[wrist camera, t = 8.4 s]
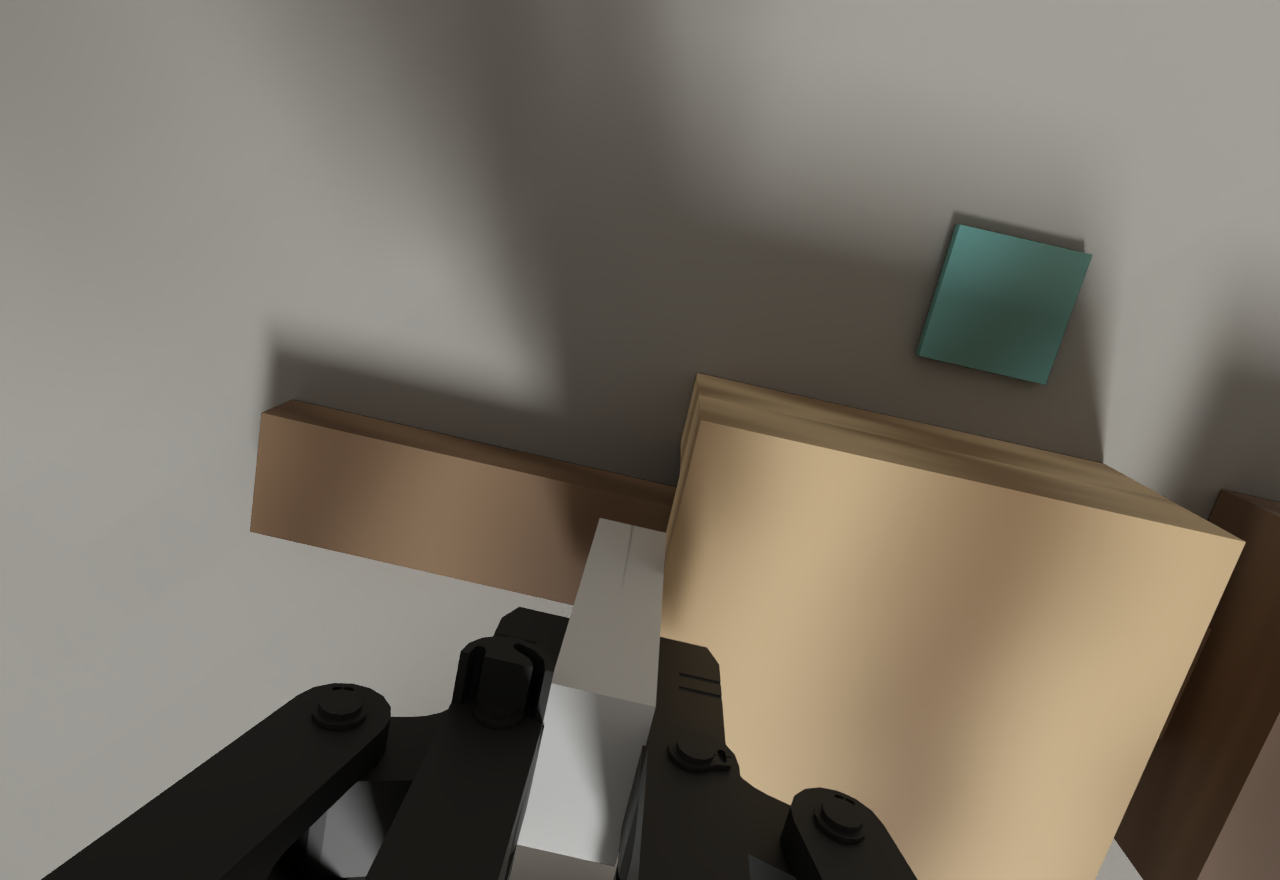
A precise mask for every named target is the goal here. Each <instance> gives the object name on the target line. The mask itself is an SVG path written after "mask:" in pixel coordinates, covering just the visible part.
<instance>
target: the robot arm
mask: <svg viewBox="0 0 1280 880" xmlns="http://www.w3.org/2000/svg"><path fill="white" fill-rule="evenodd" d="M665 545H666V533H664V532H660V531H656V530H651V529H647V528H642V527H638V526H634V525H629V524H625V523H620V522H616V521H612V520H607V519H603V518H600V519H599V522H598V526H597V529H596V532H595V536H594V539H593V542H592V546H591V549H590V552H589V556H588V559H587V562H586V566H585V569H584V572H583V576H582V579H581V582H580V586H579V589H578V593H577V596H576V599H575V603H574V606H573V609H572V613H571V616H570V618H566V617H562V616H557V615H553V614H548V613H544V612H540V611H535V610H531V609H526V608H522V607H518V608H517V609H515V610H514V611H512V612H510V613H509V614H507V615H505V616H504V617H502V619H501V621H500V623H499V625H498V627H497V629H496V631H495V634H494V636H493V637H485V638H481V639H478V640H475V641H473V642H470V643H469V644H468V645H467V646H466V647H465V648H464V649H463V650H462V651H461V653H460V659H459V664H458V670H457V675H456V681H455V687H454V692H453V698H452V703H451V705H450V707H449V709H448V710H446V711H443V712H441V713H437V714H433V715H429V716H419V717H391V707H390V705H389V704H388V702H387V701H386V700H385V698H384V697H383V696H382V695H380V694H379V693H377V692H375V691H374V690H372V689H370V688H367V687H363V686H359V685H355V684H346V683H345V684H343V683H332V684H327V685H322V686H317V687H313V688H311V689H309V690H307V691H305V692H303V693H301V694H299V695H297V696H296V697H295V698H293V699H292V700H290V701H289V702H288V703H286V704H285V705H283V706H282V707H281V708H279V709H278V710H276V711H275V712H274V713H272V714H271V715H270V716H268V717H267V718H265V719H264V720H263V721H261V722H260V723H258V724H257V725H256V726H254V727H253V728H251V729H250V730H249V731H247V732H246V733H244V734H243V735H242V736H240V737H239V738H238V739H236V740H235V741H233V742H232V743H231V744H229V745H228V746H226V747H225V748H224V749H222V750H221V751H219V752H218V753H217V754H215V755H214V756H212V757H211V758H210V759H208V760H207V761H206V762H204V763H203V764H201V765H200V766H199V767H197V768H196V769H194V770H193V771H192V772H190V773H189V774H187V775H186V776H185V777H183V778H182V779H180V780H179V781H178V782H176V783H175V784H173V785H172V786H171V787H169V788H168V789H167V790H165V791H164V792H162V793H161V794H160V795H158V796H157V797H155V798H154V799H153V800H151V801H150V802H148V803H147V804H146V805H144V806H143V807H141V808H140V809H139V810H137V811H136V812H135V813H133V814H132V815H130V816H129V817H128V818H126V819H125V820H123V821H122V822H121V823H119V824H118V825H116V826H115V827H114V828H112V829H111V830H109V831H108V832H107V833H105V834H104V835H103V836H101V837H100V838H98V839H97V840H96V841H94V842H93V843H91V844H90V845H89V846H87V847H86V848H84V849H83V850H82V851H80V852H79V853H77V854H76V855H75V856H73V857H72V858H70V859H69V860H68V861H66V862H65V863H64V864H62V865H61V866H59V867H58V868H57V869H55V870H54V871H52V872H51V873H50V874H48V875H47V876H45V877H44V878H43V879H41V880H509V877H510V873H511V869H512V864H513V859H514V855H515V850H516V845H522V846H526V847H531V848H535V849H539V850H544V851H548V852H553V853H557V854H562V855H566V856H570V857H575V858H579V859H584V860H588V861H592V862H597V863H601V864H606V865H610V866H615V863H616V859H617V856H618V852H619V856H618V865H617V869H616V873H615V877H614V880H918V879H917V878H916V876H915V874H914V873H913V871H912V870H911V868H910V866H909V865H908V863H907V861H906V860H905V858H904V857H903V855H902V853H901V852H900V850H899V849H898V847H897V845H896V844H895V842H894V840H893V839H892V837H891V836H890V834H889V832H888V831H887V829H886V828H885V826H884V824H883V823H882V822H881V821H880V820H879V818H878V817H877V816H876V815H875V814H874V813H873V811H872V810H870V809H869V808H868V807H866V806H865V805H863V804H862V803H861V802H859V801H858V800H857V799H855V798H853V797H851V796H849V795H846V794H844V793H842V792H839V791H836V790H831V789H826V788H821V787H818V788H808V789H804V790H802V791H801V792H799V793H797V794H796V795H794V798H793V801H792V803H791V805H789V804H786V803H784V802H782V801H780V800H778V799H776V798H774V797H771V796H769V795H767V794H765V793H764V792H762V791H760V790H758V789H756V788H755V787H753V786H752V785H751V784H749V783H748V782H747V781H745V780H744V779H743V778H742V777H741V776H740V768H739V764H738V762H737V759H736V756H735V754H734V753H733V752H732V751H731V750H730V749H729V748H728V747H727V745H726V742H725V729H724V717H723V704H722V699H721V697H722V692H721V685H720V683H721V679H720V667H719V664H718V662H717V661H716V659H715V658H714V657H713V655H712V654H711V652H710V651H709V649H708V648H707V647H703V646H699V645H694V644H690V643H686V642H681V641H677V640H672V639H668V638H663V637H660V628H661V612H662V595H663V579H664V560H665Z"/></svg>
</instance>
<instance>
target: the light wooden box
mask: <svg viewBox="0 0 1280 880" xmlns="http://www.w3.org/2000/svg"><path fill="white" fill-rule="evenodd" d="M1245 543H1246V542H1245V541H1243V540H1241V539H1240V538H1238V537H1236V536H1234V535H1232V534H1231V533H1229V532H1227V531H1225V530H1223V529H1221V528H1220V527H1218V526H1216V525H1214V524H1212V523H1211V522H1209V521H1207V520H1205V519H1203V518H1202V517H1200V516H1198V515H1196V514H1194V513H1192V512H1191V511H1189V510H1187V509H1185V508H1183V507H1182V506H1180V505H1178V504H1176V503H1174V502H1173V501H1171V500H1169V499H1167V498H1165V497H1163V496H1162V495H1160V494H1158V493H1156V492H1154V491H1153V490H1151V489H1149V488H1147V487H1145V486H1144V485H1142V484H1140V483H1138V482H1136V481H1134V480H1133V479H1131V478H1129V477H1127V476H1125V475H1124V474H1122V473H1120V472H1118V471H1116V470H1115V469H1113V468H1111V467H1109V466H1107V465H1105V464H1103V463H1098V462H1094V461H1089V460H1085V459H1080V458H1076V457H1071V456H1067V455H1063V454H1058V453H1054V452H1049V451H1045V450H1040V449H1036V448H1031V447H1027V446H1022V445H1018V444H1013V443H1009V442H1004V441H1000V440H995V439H991V438H986V437H982V436H978V435H973V434H969V433H964V432H960V431H955V430H951V429H946V428H942V427H937V426H933V425H928V424H924V423H919V422H915V421H910V420H906V419H901V418H897V417H892V416H888V415H884V414H879V413H875V412H870V411H866V410H861V409H857V408H852V407H848V406H843V405H839V404H834V403H830V402H825V401H821V400H816V399H812V398H807V397H803V396H799V395H794V394H790V393H785V392H781V391H776V390H772V389H767V388H763V387H758V386H754V385H749V384H745V383H740V382H736V381H731V380H727V379H722V378H718V377H714V376H709V375H705V374H700V373H697V376H696V380H695V384H694V388H693V393H692V397H691V401H690V405H689V410H688V414H687V418H686V422H685V426H684V431H683V435H682V439H681V456H680V476H679V480H678V484H677V489H676V493H675V497H674V501H673V505H672V509H671V514H670V518H669V522H668V526H667V530H666V545H665V560H664V579H663V595H662V612H661V628H660V637H663V638H668V639H672V640H677V641H681V642H686V643H690V644H694V645H699V646H703V647H707V648H708V649H709V651H710V652H711V654H712V655H713V657H714V658H715V659H716V661H717V662H718V664H719V667H720V679H721V683H720V685H721V692H722V697H721V699H722V704H723V717H724V729H725V742H726V745H727V747H728V748H729V749H730V750H731V751H732V752H733V753H734V754H735V756H736V759H737V762H738V764H739V768H740V776H741V777H742V778H743V779H744V780H745V781H747V782H748V783H749V784H751V785H752V786H753V787H755V788H756V789H758V790H760V791H762V792H764V793H765V794H767V795H769V796H771V797H774V798H776V799H778V800H780V801H782V802H784V803H786V804H789V805H791V803H792V801H793V798H794V795H796V794H797V793H799V792H801V791H802V790H804V789H808V788H818V787H821V788H826V789H831V790H836V791H839V792H842V793H844V794H846V795H849V796H851V797H853V798H855V799H857V800H858V801H859V802H861V803H862V804H863V805H865V806H866V807H868V808H869V809H870V810H872V811H873V813H874V814H875V815H876V816H877V817H878V818H879V820H880V821H881V822H882V823H883V824H884V826H885V828H886V829H887V831H888V832H889V834H890V836H891V837H892V839H893V840H894V842H895V844H896V845H897V847H898V849H899V850H900V852H901V853H902V855H903V857H904V858H905V860H906V861H907V863H908V865H909V866H910V868H911V870H912V871H913V873H914V874H915V876H916V878H917V879H918V880H1095V879H1096V876H1097V874H1098V872H1099V870H1100V867H1101V865H1102V863H1103V861H1104V859H1105V856H1106V854H1107V852H1108V850H1109V847H1110V845H1111V843H1112V841H1113V838H1114V836H1115V834H1116V832H1117V829H1118V827H1119V825H1120V823H1121V820H1122V818H1123V816H1124V814H1125V812H1126V809H1127V807H1128V805H1129V803H1130V800H1131V798H1132V796H1133V794H1134V791H1135V789H1136V787H1137V785H1138V782H1139V780H1140V778H1141V776H1142V773H1143V771H1144V769H1145V767H1146V765H1147V762H1148V760H1149V758H1150V756H1151V753H1152V751H1153V749H1154V747H1155V744H1156V742H1157V740H1158V738H1159V735H1160V733H1161V731H1162V729H1163V726H1164V724H1165V722H1166V720H1167V717H1168V715H1169V713H1170V711H1171V709H1172V706H1173V704H1174V702H1175V700H1176V697H1177V695H1178V693H1179V691H1180V688H1181V686H1182V684H1183V682H1184V679H1185V677H1186V675H1187V673H1188V670H1189V668H1190V666H1191V664H1192V662H1193V659H1194V657H1195V655H1196V653H1197V650H1198V648H1199V646H1200V644H1201V641H1202V639H1203V637H1204V635H1205V632H1206V630H1207V628H1208V626H1209V623H1210V621H1211V619H1212V617H1213V615H1214V612H1215V610H1216V608H1217V606H1218V603H1219V601H1220V599H1221V597H1222V594H1223V592H1224V590H1225V588H1226V585H1227V583H1228V581H1229V579H1230V576H1231V574H1232V572H1233V570H1234V568H1235V565H1236V563H1237V561H1238V559H1239V556H1240V554H1241V552H1242V550H1243V547H1244V545H1245Z"/></svg>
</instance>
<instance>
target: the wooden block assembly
mask: <svg viewBox="0 0 1280 880" xmlns="http://www.w3.org/2000/svg"><path fill="white" fill-rule="evenodd" d="M1091 257H1092V254H1087V253H1083V252H1078V251H1074V250H1070V249H1065V248H1061V247H1057V246H1052V245H1048V244H1043V243H1039V242H1035V241H1030V240H1026V239H1022V238H1017V237H1013V236H1008V235H1004V234H1000V233H995V232H991V231H987V230H982V229H978V228H973V227H969V226H965V225H956V226H955V229H954V232H953V236H952V239H951V242H950V245H949V248H948V252H947V255H946V258H945V261H944V264H943V267H942V271H941V274H940V277H939V280H938V283H937V287H936V290H935V293H934V296H933V299H932V303H931V306H930V309H929V312H928V315H927V318H926V322H925V325H924V328H923V331H922V334H921V338H920V341H919V344H918V347H917V350H916V355H918V356H921V357H926V358H930V359H934V360H939V361H943V362H948V363H952V364H956V365H961V366H965V367H970V368H974V369H978V370H983V371H987V372H991V373H996V374H1000V375H1005V376H1009V377H1013V378H1018V379H1022V380H1026V381H1031V382H1035V383H1040V384H1044V385H1046V382H1047V379H1048V377H1049V374H1050V371H1051V368H1052V366H1053V363H1054V360H1055V357H1056V355H1057V352H1058V349H1059V346H1060V343H1061V341H1062V338H1063V335H1064V332H1065V330H1066V327H1067V324H1068V321H1069V318H1070V316H1071V313H1072V310H1073V307H1074V305H1075V302H1076V299H1077V296H1078V294H1079V291H1080V288H1081V285H1082V282H1083V280H1084V277H1085V274H1086V271H1087V269H1088V266H1089V263H1090V260H1091ZM676 489H677V487H673V486H669V485H664V484H660V483H656V482H651V481H647V480H642V479H638V478H634V477H629V476H625V475H620V474H616V473H612V472H607V471H603V470H599V469H594V468H590V467H585V466H581V465H577V464H572V463H568V462H563V461H559V460H555V459H550V458H546V457H542V456H537V455H533V454H528V453H524V452H520V451H515V450H511V449H506V448H502V447H498V446H493V445H489V444H485V443H480V442H476V441H471V440H467V439H463V438H458V437H454V436H449V435H445V434H441V433H436V432H432V431H428V430H423V429H419V428H414V427H410V426H406V425H401V424H397V423H393V422H388V421H384V420H379V419H375V418H371V417H366V416H362V415H357V414H353V413H349V412H344V411H340V410H336V409H331V408H327V407H322V406H318V405H314V404H309V403H305V402H300V401H296V400H291V401H288V402H286V403H284V404H281V405H279V406H277V407H274V408H272V409H270V410H267V411H265V412H262V414H261V424H260V434H259V444H258V454H257V465H256V475H255V485H254V495H253V506H252V516H251V526H250V532H254V533H259V534H263V535H267V536H272V537H276V538H281V539H285V540H289V541H294V542H298V543H303V544H307V545H311V546H316V547H320V548H325V549H329V550H333V551H338V552H342V553H346V554H351V555H355V556H360V557H364V558H368V559H373V560H377V561H382V562H386V563H390V564H395V565H399V566H403V567H408V568H412V569H417V570H421V571H425V572H430V573H434V574H439V575H443V576H447V577H452V578H456V579H460V580H465V581H469V582H474V583H478V584H482V585H487V586H491V587H496V588H500V589H504V590H509V591H513V592H518V593H522V594H526V595H531V596H535V597H539V598H544V599H548V600H553V601H557V602H561V603H566V604H570V605H574V603H575V599H576V596H577V593H578V589H579V586H580V582H581V579H582V576H583V572H584V569H585V566H586V562H587V559H588V556H589V552H590V549H591V546H592V542H593V539H594V536H595V532H596V529H597V526H598V522H599V519H600V518H603V519H607V520H612V521H616V522H620V523H625V524H629V525H634V526H638V527H642V528H647V529H651V530H656V531H660V532H664V533H666V530H667V526H668V522H669V518H670V514H671V509H672V505H673V501H674V497H675V493H676ZM1208 521H1209V522H1211V523H1212V524H1214V525H1216V526H1218V527H1220V528H1221V529H1223V530H1225V531H1227V532H1229V533H1231V534H1232V535H1234V536H1236V537H1238V538H1240V539H1241V540H1243V541H1245V542H1246V543H1245V545H1244V547H1243V550H1242V552H1241V554H1240V556H1239V559H1238V561H1237V563H1236V565H1235V568H1234V570H1233V572H1232V574H1231V576H1230V579H1229V581H1228V583H1227V585H1226V588H1225V590H1224V592H1223V594H1222V597H1221V599H1220V601H1219V603H1218V606H1217V608H1216V610H1215V612H1214V615H1213V617H1212V619H1211V621H1210V623H1209V626H1208V628H1207V630H1206V632H1205V635H1204V637H1203V639H1202V641H1201V644H1200V646H1199V648H1198V650H1197V653H1196V655H1195V657H1194V659H1193V662H1192V664H1191V666H1190V668H1189V670H1188V673H1187V675H1186V677H1185V679H1184V682H1183V684H1182V686H1181V688H1180V691H1179V693H1178V695H1177V697H1176V700H1175V702H1174V704H1173V706H1172V709H1171V711H1170V713H1169V715H1168V717H1167V720H1166V722H1165V724H1164V726H1163V729H1162V731H1161V733H1160V735H1159V738H1158V740H1157V742H1156V744H1155V747H1154V749H1153V751H1152V753H1151V756H1150V758H1149V760H1148V762H1147V765H1146V767H1145V769H1144V771H1143V773H1142V776H1141V778H1140V780H1139V782H1138V785H1137V787H1136V789H1135V791H1134V794H1133V796H1132V798H1131V800H1130V803H1129V805H1128V807H1127V809H1126V812H1125V814H1124V816H1123V818H1122V820H1121V823H1120V825H1119V827H1118V829H1117V832H1116V834H1115V836H1114V839H1115V840H1116V842H1117V843H1118V844H1119V846H1120V847H1121V849H1122V850H1123V852H1124V853H1125V854H1126V856H1127V857H1128V859H1129V860H1130V861H1131V863H1132V864H1133V866H1134V867H1135V869H1136V870H1137V871H1138V873H1139V874H1140V876H1141V877H1142V878H1143V880H1280V502H1276V501H1272V500H1267V499H1263V498H1258V497H1254V496H1250V495H1245V494H1241V493H1237V492H1232V491H1228V490H1223V489H1222V490H1221V492H1220V494H1219V497H1218V499H1217V501H1216V504H1215V506H1214V508H1213V510H1212V513H1211V515H1210V517H1209V520H1208Z"/></svg>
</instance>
